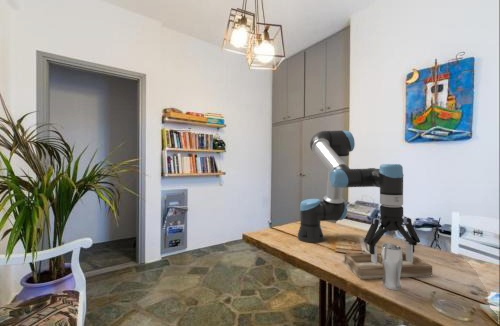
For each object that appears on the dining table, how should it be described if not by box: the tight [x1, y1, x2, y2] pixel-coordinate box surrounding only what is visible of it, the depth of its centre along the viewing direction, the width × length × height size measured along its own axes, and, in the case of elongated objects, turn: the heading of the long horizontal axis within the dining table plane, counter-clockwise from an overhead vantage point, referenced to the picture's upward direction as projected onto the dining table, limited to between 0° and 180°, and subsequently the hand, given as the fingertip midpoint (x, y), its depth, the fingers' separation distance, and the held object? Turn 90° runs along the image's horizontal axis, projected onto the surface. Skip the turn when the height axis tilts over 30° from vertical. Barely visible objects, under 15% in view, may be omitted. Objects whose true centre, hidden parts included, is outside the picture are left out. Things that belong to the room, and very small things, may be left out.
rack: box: [344, 251, 433, 280], centre depth 103 cm, size 14×30×4 cm, turn 93°
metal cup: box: [380, 243, 403, 291], centre depth 90 cm, size 7×7×15 cm
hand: (391, 261), depth 90 cm, fingers open, 13 cm apart
